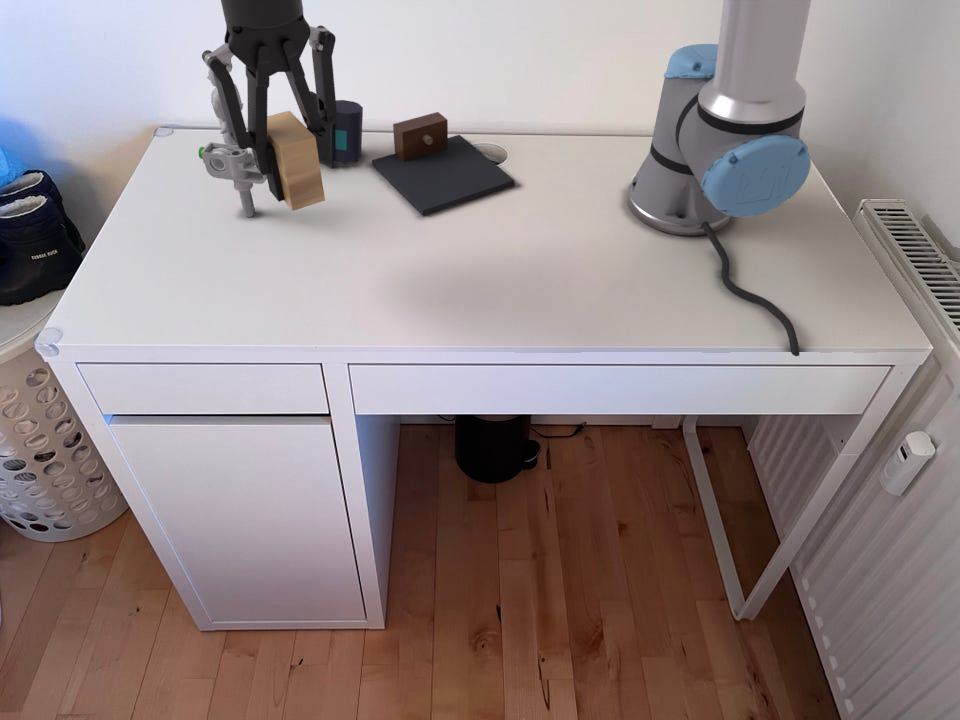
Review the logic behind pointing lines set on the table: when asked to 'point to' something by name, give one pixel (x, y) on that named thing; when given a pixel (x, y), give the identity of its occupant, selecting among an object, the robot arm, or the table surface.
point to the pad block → (296, 160)
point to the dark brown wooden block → (420, 136)
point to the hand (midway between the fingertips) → (296, 188)
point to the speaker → (343, 134)
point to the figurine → (219, 110)
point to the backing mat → (443, 176)
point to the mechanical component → (233, 170)
